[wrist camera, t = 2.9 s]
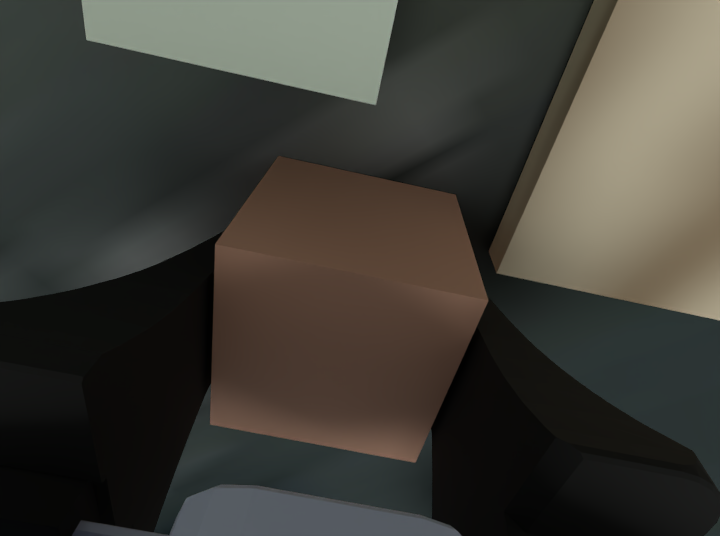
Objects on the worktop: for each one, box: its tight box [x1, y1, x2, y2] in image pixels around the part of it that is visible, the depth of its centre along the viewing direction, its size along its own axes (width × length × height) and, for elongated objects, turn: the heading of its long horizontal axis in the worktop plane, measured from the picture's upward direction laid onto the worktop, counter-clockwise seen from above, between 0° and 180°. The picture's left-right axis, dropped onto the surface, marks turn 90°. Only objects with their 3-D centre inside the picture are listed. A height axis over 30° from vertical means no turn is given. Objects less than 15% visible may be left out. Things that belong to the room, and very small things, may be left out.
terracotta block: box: [210, 156, 488, 463], centre depth 11 cm, size 5×5×5 cm
